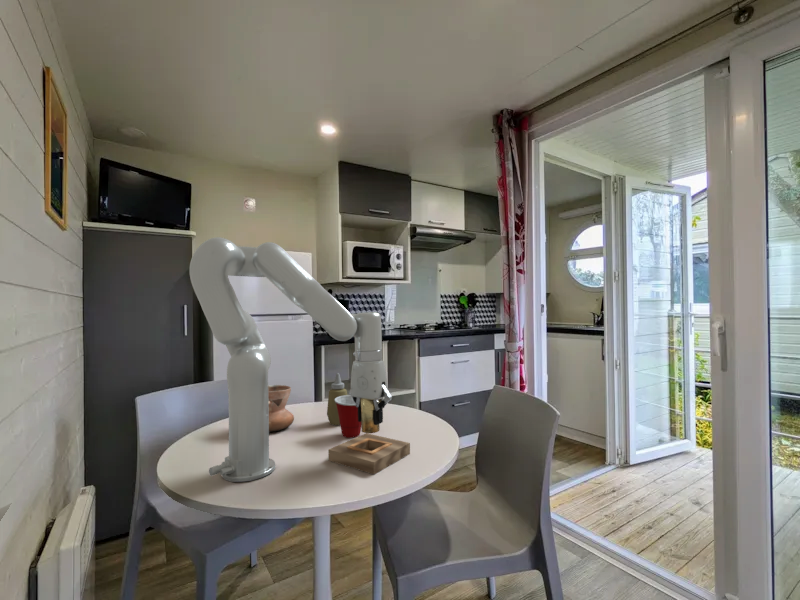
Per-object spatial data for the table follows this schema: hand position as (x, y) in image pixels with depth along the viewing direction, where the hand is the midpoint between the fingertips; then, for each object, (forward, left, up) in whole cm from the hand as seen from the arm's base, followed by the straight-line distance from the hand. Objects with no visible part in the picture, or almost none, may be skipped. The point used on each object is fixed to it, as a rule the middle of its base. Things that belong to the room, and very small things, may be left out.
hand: (370, 421), depth 103 cm
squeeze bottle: (+18, +30, -10) cm, 36 cm away
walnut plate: (0, 0, -10) cm, 10 cm away
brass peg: (0, 0, -2) cm, 2 cm away
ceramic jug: (+2, +46, -10) cm, 47 cm away
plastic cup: (+11, +17, -10) cm, 23 cm away
